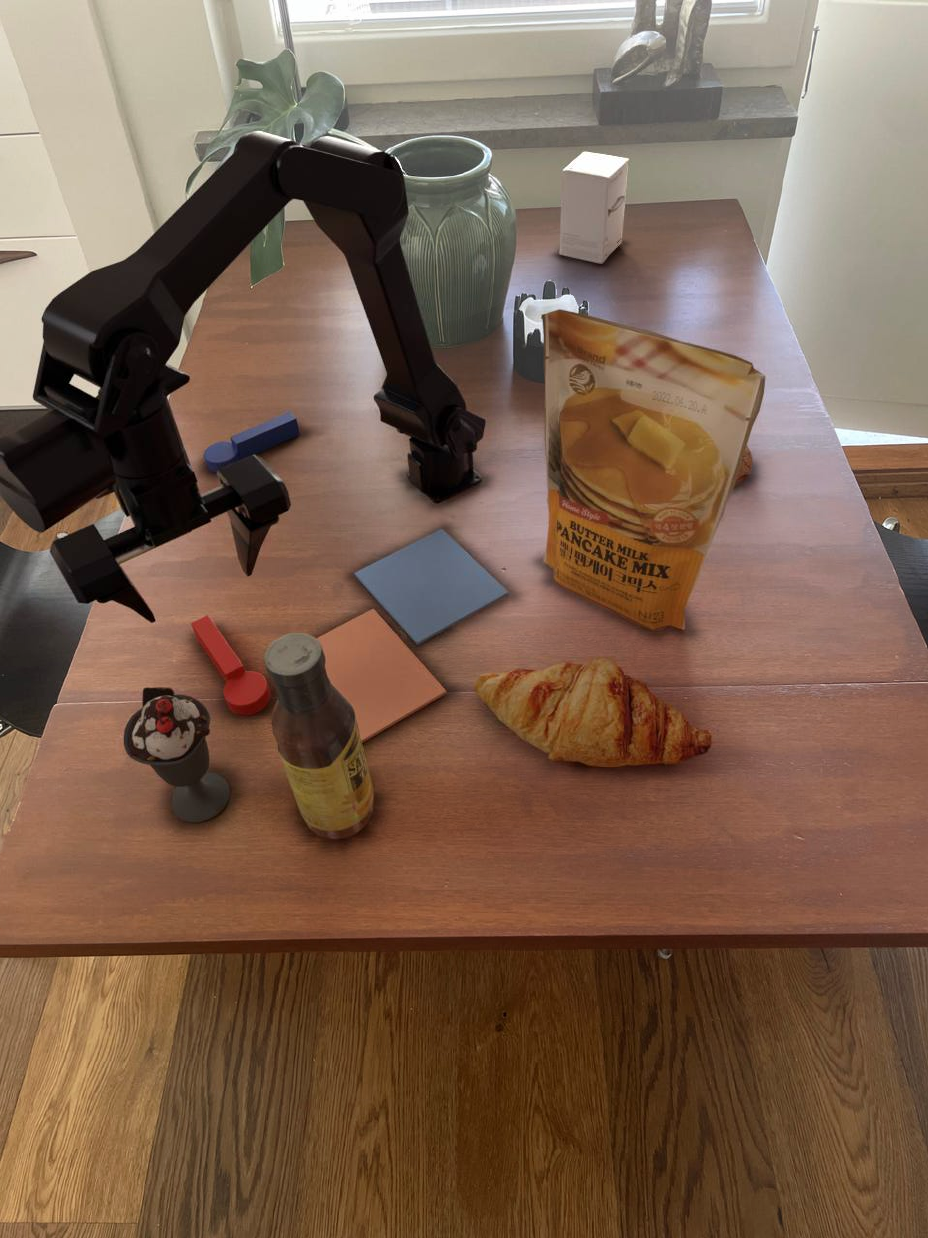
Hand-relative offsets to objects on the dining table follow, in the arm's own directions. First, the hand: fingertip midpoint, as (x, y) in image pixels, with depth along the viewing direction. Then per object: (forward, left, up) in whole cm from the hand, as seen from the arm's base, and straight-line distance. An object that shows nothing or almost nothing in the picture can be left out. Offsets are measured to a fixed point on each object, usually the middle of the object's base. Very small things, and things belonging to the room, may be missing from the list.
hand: (200, 595), depth 82 cm
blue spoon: (-18, -29, -9) cm, 35 cm away
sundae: (+8, +12, -10) cm, 18 cm away
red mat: (-10, +9, -9) cm, 17 cm away
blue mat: (-21, +3, -9) cm, 24 cm away
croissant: (-23, +26, -10) cm, 36 cm away
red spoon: (0, 0, -9) cm, 9 cm away
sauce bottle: (-1, +20, -10) cm, 23 cm away
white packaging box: (-80, -41, -10) cm, 90 cm away
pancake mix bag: (-36, +15, -10) cm, 40 cm away
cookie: (-57, +6, -10) cm, 58 cm away
